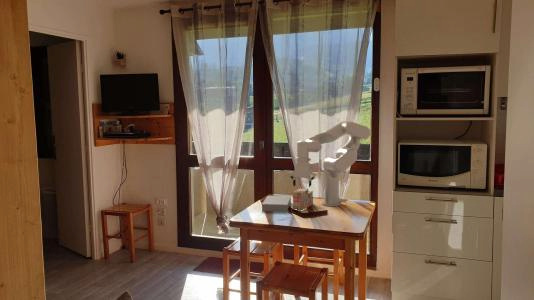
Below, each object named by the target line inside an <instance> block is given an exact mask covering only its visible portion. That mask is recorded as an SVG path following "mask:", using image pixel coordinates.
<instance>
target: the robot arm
mask: <svg viewBox="0 0 534 300" xmlns="http://www.w3.org/2000/svg"><path fill="white" fill-rule="evenodd" d="M345 135H349V139H348V141H347V142H346V143H345V144H344V145H342V146H341V147H340V148H339V149H338V150H337V151H336V153H335V157H333V156H330V157H329V156H328V157H326V158H325V159H324V160H323V162H322V163H323V165H322V166H323V173H324V174H323V175H324V182H323V183H324V190H323V193H324V194H323V196H324V198H323V199H324V200H323V201H322V202H321V205H323V206H326V207H338V206H341V205H342V203H346V199H345V198H340V196H339V195H340V192H339V191H340V184H339V183H340V177H339V174H342V173H344V172H345V171H346V170H348V169H350V167H351V166H352V165H353V164H355V163H356V161H357V158H358V150H359V148H360V145H361V140H367V139H368V138H369V137H370V136H371V129H370V128H369V127H368V126H366V125H363V124H360V123H357V122H353V121H344V120H343V121H341V122H338V123H337V124H335V125H334V126H331V127H330V128H329V129H327V130H325V131H322V132H320V133H318V134H315V135H313V136H311V137H309V138H308V139H306V140H299V141H297V143H296V161H295V165H294V170H293V171H291V172H289V173H288V175H289V177H290V178H291V179H292V186H293V187H296V179H297V178H300V179H301V178H303V179H308V180H309V181H308V187H309V188H310V187H312V181H313V180H314V179H315V177H316V176H317V174H316V173H315V172H313V171H312V170H311V162H310V161H312V159H311V158H310V155H309V154H310V153H318V152H320V151H321V150H322V147H323V146H322V145H324V144H329V143H332V142H333V143H334V142H335V141H337V140H338V139H340V138H342V137H344V136H345ZM293 174H294V176H293ZM311 175H312V177H311Z"/></svg>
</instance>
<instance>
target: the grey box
mask: <svg viewBox="0 0 534 300" xmlns="http://www.w3.org/2000/svg"><path fill="white" fill-rule="evenodd" d="M290 203H292V196H291V195H267V196H266V197H265V199H264V201H263V202H262V203H261V211H262V212H278V213H279V212H281V213H282V212H283V213H287V212H289V209H288V208H290V206H291V204H290Z"/></svg>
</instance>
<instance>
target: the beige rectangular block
mask: <svg viewBox="0 0 534 300" xmlns="http://www.w3.org/2000/svg"><path fill="white" fill-rule="evenodd" d="M313 205H314V191H313V190H309V189H308V188H298V189H296V190H295V191H292V210H293V209H297V210H303V209H305V208H307V207H308V206H310V207H311V206H313ZM308 208H309V207H308ZM308 208H307V209H308ZM305 210H306V209H305Z"/></svg>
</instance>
